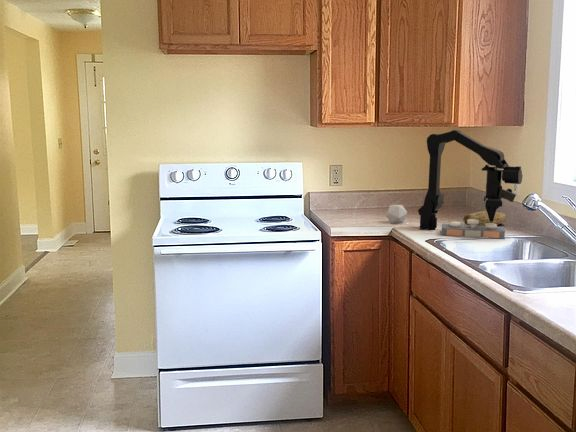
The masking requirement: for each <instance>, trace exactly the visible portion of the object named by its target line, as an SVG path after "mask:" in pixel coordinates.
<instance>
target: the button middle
mask: <svg viewBox="0 0 576 432" xmlns="http://www.w3.org/2000/svg"><path fill="white" fill-rule="evenodd" d="M467 224H470V228H475V225H477V224H479V220H476V219H468V220H467ZM467 224H466V225H467Z"/></svg>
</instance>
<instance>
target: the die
mask: <svg viewBox="0 0 576 432" xmlns="http://www.w3.org/2000/svg"><path fill="white" fill-rule="evenodd" d="M407 216H408V211H407V210H406V208H405V207H404V206H403V204H389V206H388V209H387V211H386V214H385V217H386V218H387V219H388V221H389V223H390V224H393V225H394V224H395V223H403V224H404V222H405V220H406V217H407ZM395 225H396V224H395Z"/></svg>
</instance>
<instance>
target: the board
mask: <svg viewBox="0 0 576 432" xmlns="http://www.w3.org/2000/svg"><path fill="white" fill-rule="evenodd" d="M440 232H441V236H442V237H443V236H445V237H459V238H460V237H462V238H478V237H488V238H487V239H496V240H498V239H500V240H505V237H506V235H505V234H506V230H505V228H504V226H498V225H497V228H496V229H488V228H485V226H478V225H475V228H470V225H467V224H460V227H451V226H449V223H441V231H440Z"/></svg>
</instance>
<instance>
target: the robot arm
mask: <svg viewBox="0 0 576 432" xmlns="http://www.w3.org/2000/svg"><path fill="white" fill-rule="evenodd" d="M453 141H455V142H456V143H458V144H460V145H462V146H463V147H465V148H467V149H469V150H471V152H474V153H476V154H477V155H478V156H479V157H480V158H481V159H482V160H483V161H484V162H485V163H486V164H485V165H484V166H483V167H482V168H481V171H484V172H486V177H485V178H486V179H485V180H486V182H485V194H484V195H483V201H484V202H483V204H484V207H485V211H487V214H488V217H489V220H490V222H493V220H494V216H495V213H496V212H497V210H498V209H499V208H500V207H501V208H502V207H503V201H502V199H505V200H507V201H509V202H511V203H513V202H514V200H515V198H516V196H517V194H516V193H514V192H513V189H512V188H509V187H508V188H506V189H503V186H502V181H503V182H504V184H513V185H521V184H522V182H523V171H522V166H519V165H518V166H510V165H509V164H508V162H507V160H506V159H505V154H504V152H503V151H501V150H498V149H495V148H492V147H490V146H488V145H487V146H486V145H484V144H482V143H480V142H479V141H477V140H476V139H473V138H472V137H471V136H469V135H467V134H465V133H464V132H462V131H461V130H459V129H453V130H451V131H448V132H444V133H431V134H429V136H427V137H426V147H427V151H428V154H429V165H428V166H429V167H428V185H427V187H428V188H427V192H426V193H425V197H424V200H423V205H422V206H421V207H420V208H419V209H417V211H418V215H419V227H418V229H419V230H427V231H429V230H430V231H435V230H436V229H437V226H438V217H436V216H437V214H438V211H439V210H441V209H442V207H443V205H444V204H445V203H444V202H445V201H444V198H445V193H442V192H441V191H440V184H441V166H442V164H441V163H442V156H443V155H442V154H443V152H444V150H445V146H446V144H447V143H448V144H449V143H451V142H453Z"/></svg>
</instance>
